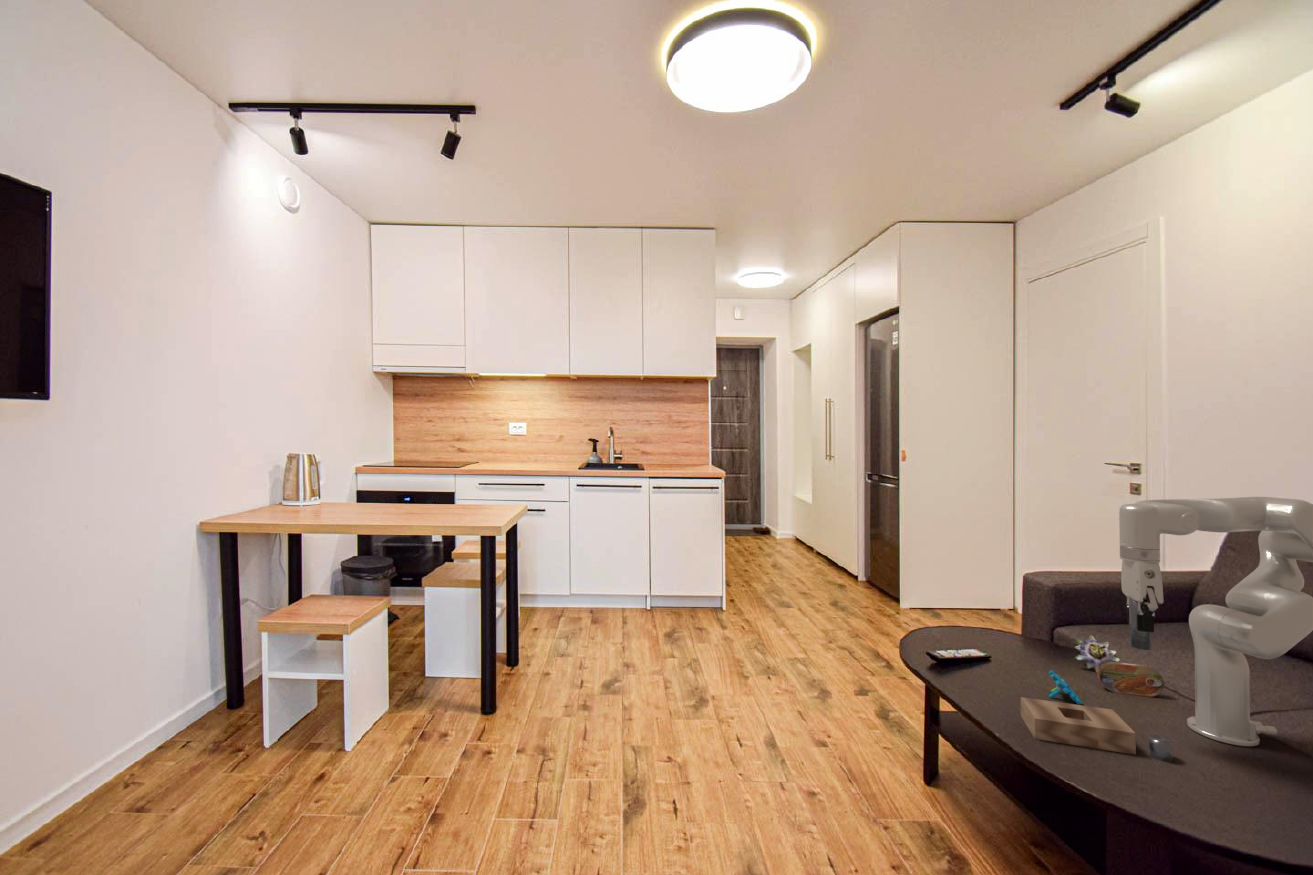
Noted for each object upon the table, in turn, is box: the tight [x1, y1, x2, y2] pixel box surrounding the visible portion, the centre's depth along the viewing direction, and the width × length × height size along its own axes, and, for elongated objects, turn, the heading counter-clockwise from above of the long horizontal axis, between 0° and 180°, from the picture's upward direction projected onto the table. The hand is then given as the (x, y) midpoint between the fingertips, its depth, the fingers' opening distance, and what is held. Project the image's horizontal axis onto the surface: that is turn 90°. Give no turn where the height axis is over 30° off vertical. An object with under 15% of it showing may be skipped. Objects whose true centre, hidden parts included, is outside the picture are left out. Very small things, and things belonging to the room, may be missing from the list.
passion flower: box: [1073, 635, 1121, 673], centre depth 177 cm, size 11×11×12 cm
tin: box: [1096, 661, 1165, 698], centre depth 159 cm, size 15×3×8 cm, turn 68°
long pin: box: [1128, 596, 1152, 651], centre depth 135 cm, size 4×4×14 cm
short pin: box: [1148, 734, 1173, 763], centre depth 126 cm, size 4×4×4 cm
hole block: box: [1020, 696, 1137, 755], centre depth 136 cm, size 20×12×5 cm, turn 70°
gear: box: [1048, 670, 1083, 705], centre depth 155 cm, size 11×6×10 cm
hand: (1140, 627), depth 135 cm, fingers closed on long pin, 4 cm apart
